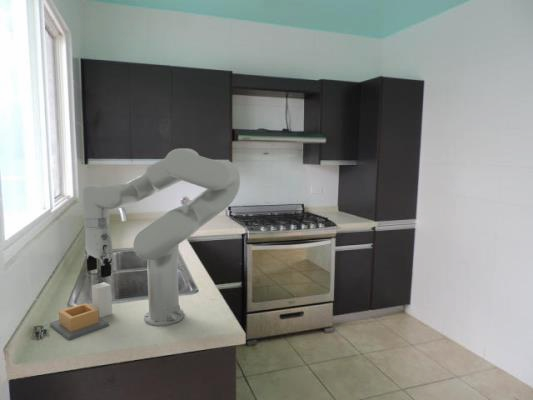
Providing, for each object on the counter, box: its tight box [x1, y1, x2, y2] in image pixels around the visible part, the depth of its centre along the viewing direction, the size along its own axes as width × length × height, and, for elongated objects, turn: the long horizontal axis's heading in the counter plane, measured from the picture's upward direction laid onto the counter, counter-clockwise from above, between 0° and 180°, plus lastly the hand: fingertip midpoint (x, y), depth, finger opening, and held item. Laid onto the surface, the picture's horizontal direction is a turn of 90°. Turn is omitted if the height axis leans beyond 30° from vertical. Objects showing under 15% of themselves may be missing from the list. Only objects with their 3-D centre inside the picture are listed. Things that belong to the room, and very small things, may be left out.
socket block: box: [49, 302, 110, 341], centre depth 119 cm, size 14×12×5 cm
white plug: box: [91, 281, 113, 318], centre depth 127 cm, size 4×4×10 cm
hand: (99, 273), depth 126 cm, fingers open, 9 cm apart
